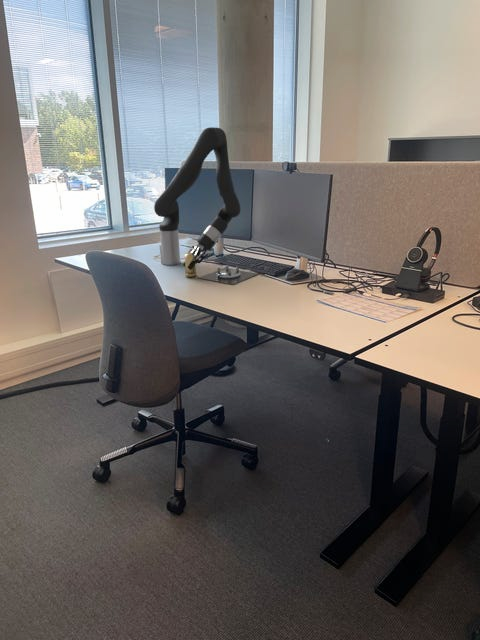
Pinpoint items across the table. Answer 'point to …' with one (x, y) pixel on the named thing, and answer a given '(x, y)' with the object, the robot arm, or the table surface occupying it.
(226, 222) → the robot arm
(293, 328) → the table surface
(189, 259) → the gold upright cylinder
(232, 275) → the flange
